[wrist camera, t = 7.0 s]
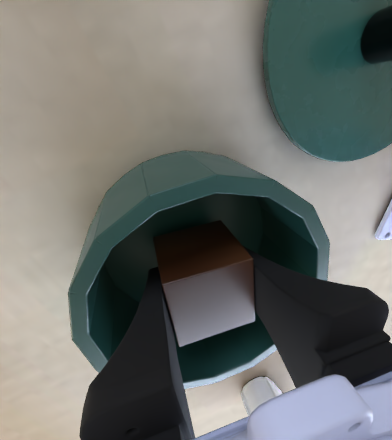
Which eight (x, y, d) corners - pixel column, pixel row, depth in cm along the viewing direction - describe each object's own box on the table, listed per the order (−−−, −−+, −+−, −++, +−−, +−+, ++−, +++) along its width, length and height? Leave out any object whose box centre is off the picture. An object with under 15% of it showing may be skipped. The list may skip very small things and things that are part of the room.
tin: (260, 126, 14) (337, 136, 9) (273, 277, 20) (324, 336, 15) (50, 187, 12) (-6, 243, 7) (132, 331, 18) (133, 419, 13)
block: (220, 219, 14) (253, 258, 10) (226, 272, 16) (255, 321, 12) (152, 236, 13) (161, 285, 10) (166, 290, 15) (179, 347, 12)
